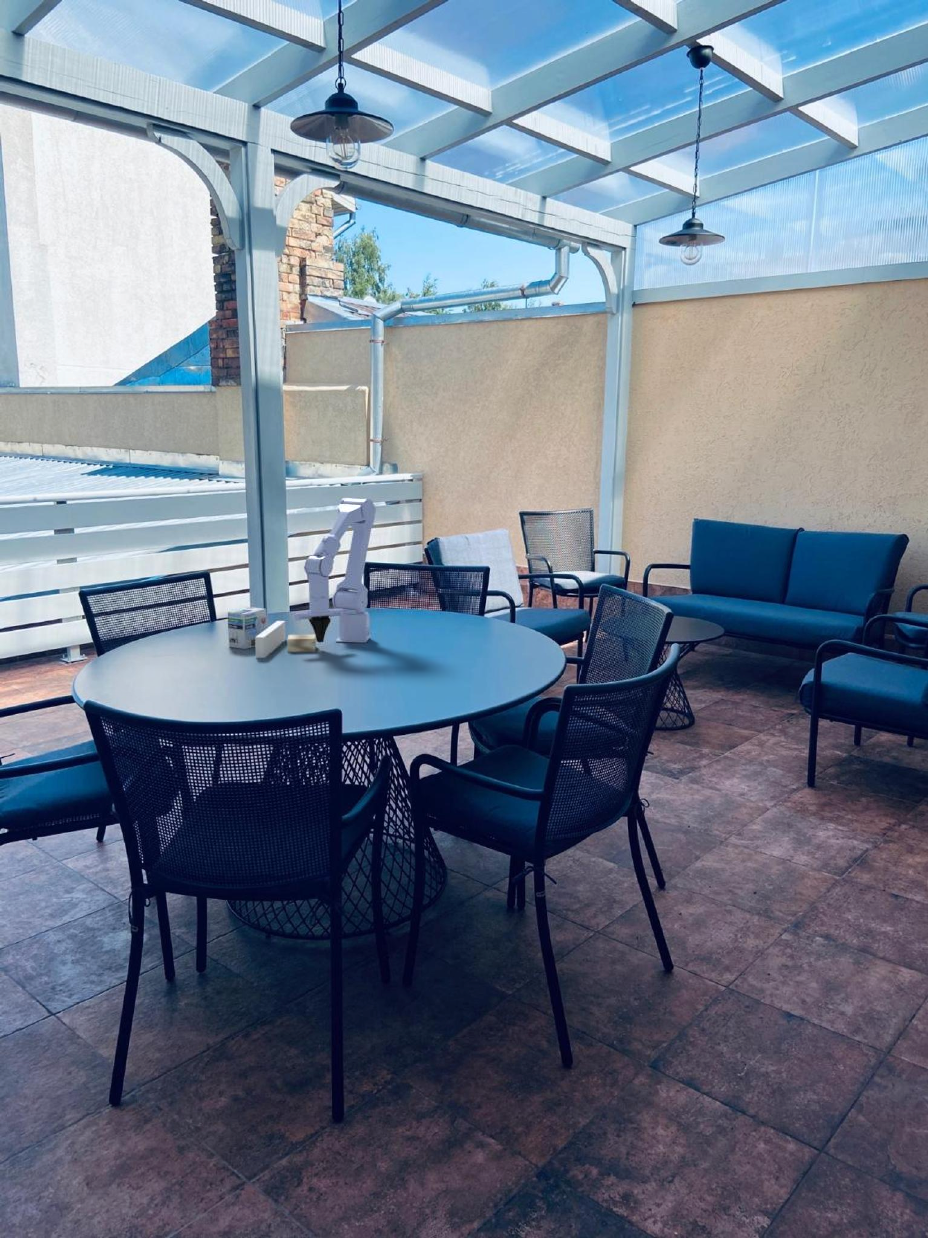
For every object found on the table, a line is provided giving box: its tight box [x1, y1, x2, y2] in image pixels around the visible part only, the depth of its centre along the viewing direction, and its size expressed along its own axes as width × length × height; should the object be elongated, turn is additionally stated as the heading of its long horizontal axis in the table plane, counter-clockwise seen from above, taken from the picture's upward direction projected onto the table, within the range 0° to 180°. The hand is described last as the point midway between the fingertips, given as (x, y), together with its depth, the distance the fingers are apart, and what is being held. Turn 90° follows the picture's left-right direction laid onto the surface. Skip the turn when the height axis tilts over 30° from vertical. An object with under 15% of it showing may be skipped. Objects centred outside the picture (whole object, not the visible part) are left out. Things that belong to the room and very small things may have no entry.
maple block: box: [286, 634, 317, 653], centre depth 266 cm, size 8×6×4 cm
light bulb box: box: [227, 606, 268, 650], centre depth 271 cm, size 11×7×11 cm, turn 154°
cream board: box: [254, 620, 287, 659], centre depth 267 cm, size 2×24×6 cm, turn 177°
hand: (320, 641), depth 266 cm, fingers closed
